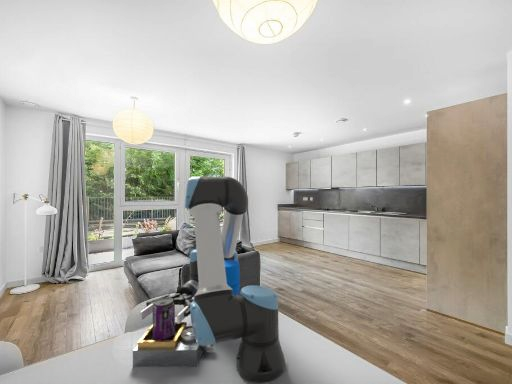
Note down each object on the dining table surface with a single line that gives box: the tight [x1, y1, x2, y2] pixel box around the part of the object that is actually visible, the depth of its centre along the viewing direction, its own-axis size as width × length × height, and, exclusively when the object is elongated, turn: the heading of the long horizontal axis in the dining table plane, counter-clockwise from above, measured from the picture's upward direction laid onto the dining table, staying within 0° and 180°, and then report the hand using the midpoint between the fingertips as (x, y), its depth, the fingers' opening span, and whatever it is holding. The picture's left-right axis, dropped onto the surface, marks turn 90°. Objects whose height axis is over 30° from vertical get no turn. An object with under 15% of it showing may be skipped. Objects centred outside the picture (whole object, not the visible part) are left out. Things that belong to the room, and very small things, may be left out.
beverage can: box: [152, 297, 176, 340], centre depth 82 cm, size 7×7×12 cm
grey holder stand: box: [132, 321, 215, 368], centre depth 82 cm, size 24×14×7 cm, turn 89°
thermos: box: [224, 260, 241, 295], centre depth 100 cm, size 11×11×25 cm
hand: (159, 317), depth 80 cm, fingers open, 13 cm apart
